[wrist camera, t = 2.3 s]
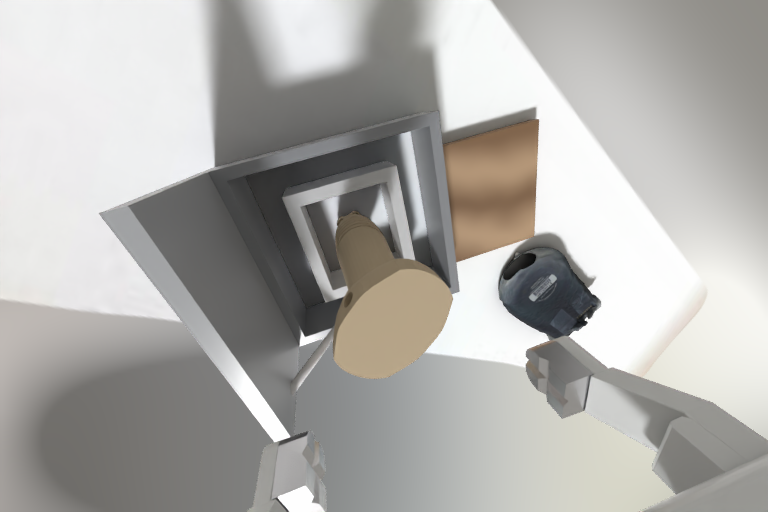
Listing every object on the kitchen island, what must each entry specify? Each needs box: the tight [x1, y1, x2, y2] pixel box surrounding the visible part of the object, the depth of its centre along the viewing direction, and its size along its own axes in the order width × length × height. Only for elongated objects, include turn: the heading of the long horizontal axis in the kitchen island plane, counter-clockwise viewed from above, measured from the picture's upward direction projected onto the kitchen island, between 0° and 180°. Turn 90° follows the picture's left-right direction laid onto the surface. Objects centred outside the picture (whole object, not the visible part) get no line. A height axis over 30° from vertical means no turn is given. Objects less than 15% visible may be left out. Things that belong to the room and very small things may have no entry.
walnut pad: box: [443, 119, 539, 262], centre depth 27 cm, size 12×10×1 cm
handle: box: [333, 211, 453, 379], centre depth 19 cm, size 5×6×15 cm
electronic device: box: [499, 247, 601, 340], centre depth 34 cm, size 9×6×15 cm
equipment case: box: [99, 111, 459, 442], centre depth 20 cm, size 16×17×13 cm
